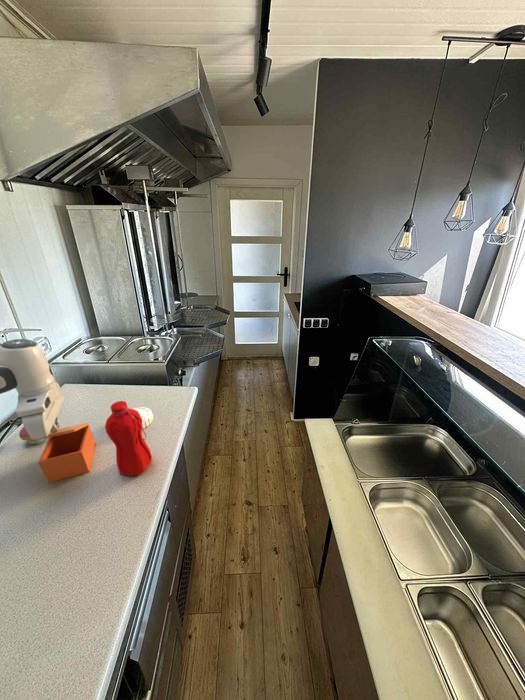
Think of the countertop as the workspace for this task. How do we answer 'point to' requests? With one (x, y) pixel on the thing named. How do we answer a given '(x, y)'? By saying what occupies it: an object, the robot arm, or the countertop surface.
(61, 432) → the box lid
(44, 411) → the robot arm
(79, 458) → the box
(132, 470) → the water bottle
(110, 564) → the countertop surface
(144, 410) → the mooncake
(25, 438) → the cupcake
